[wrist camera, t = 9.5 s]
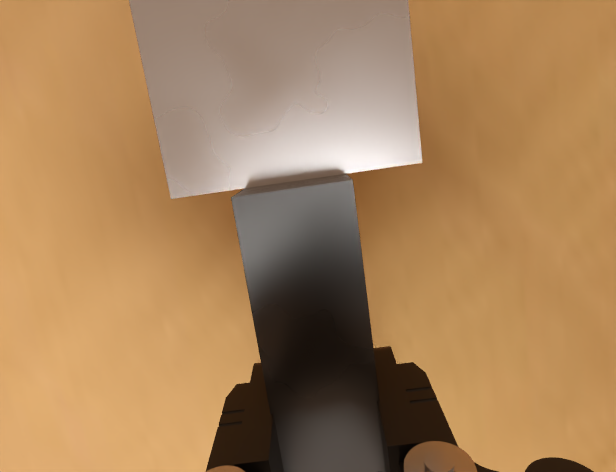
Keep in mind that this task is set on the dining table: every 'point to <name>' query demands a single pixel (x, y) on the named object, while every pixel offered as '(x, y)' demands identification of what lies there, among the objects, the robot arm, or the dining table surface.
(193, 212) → the dining table surface
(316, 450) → the turner
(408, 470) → the robot arm
